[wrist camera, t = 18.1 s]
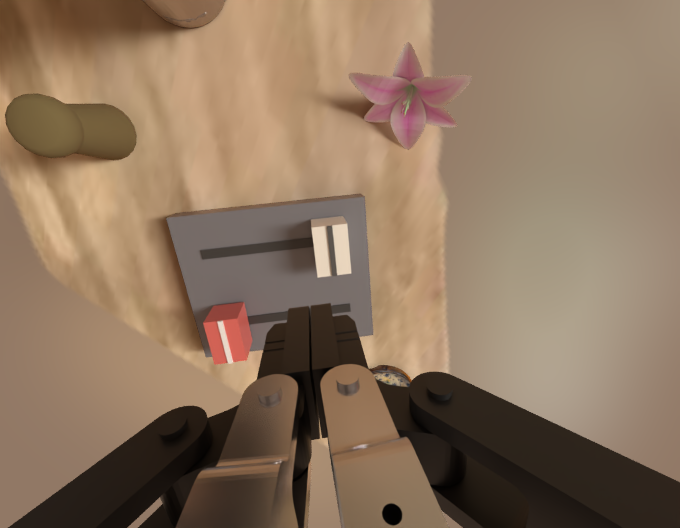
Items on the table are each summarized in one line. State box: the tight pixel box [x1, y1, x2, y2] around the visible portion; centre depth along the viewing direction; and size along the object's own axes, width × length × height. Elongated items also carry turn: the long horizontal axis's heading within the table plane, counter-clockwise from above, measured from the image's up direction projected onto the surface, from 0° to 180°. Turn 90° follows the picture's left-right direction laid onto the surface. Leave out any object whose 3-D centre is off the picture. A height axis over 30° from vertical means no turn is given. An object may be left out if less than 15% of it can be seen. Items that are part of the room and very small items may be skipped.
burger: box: [369, 365, 411, 387], centre depth 50 cm, size 12×12×8 cm
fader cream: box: [311, 216, 351, 277], centre depth 38 cm, size 6×4×5 cm, turn 5°
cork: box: [5, 94, 136, 160], centre depth 31 cm, size 6×6×11 cm
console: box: [166, 194, 373, 357], centre depth 43 cm, size 20×24×3 cm
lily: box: [349, 42, 472, 149], centre depth 35 cm, size 12×12×10 cm
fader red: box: [203, 302, 252, 364], centre depth 40 cm, size 6×4×5 cm, turn 5°
